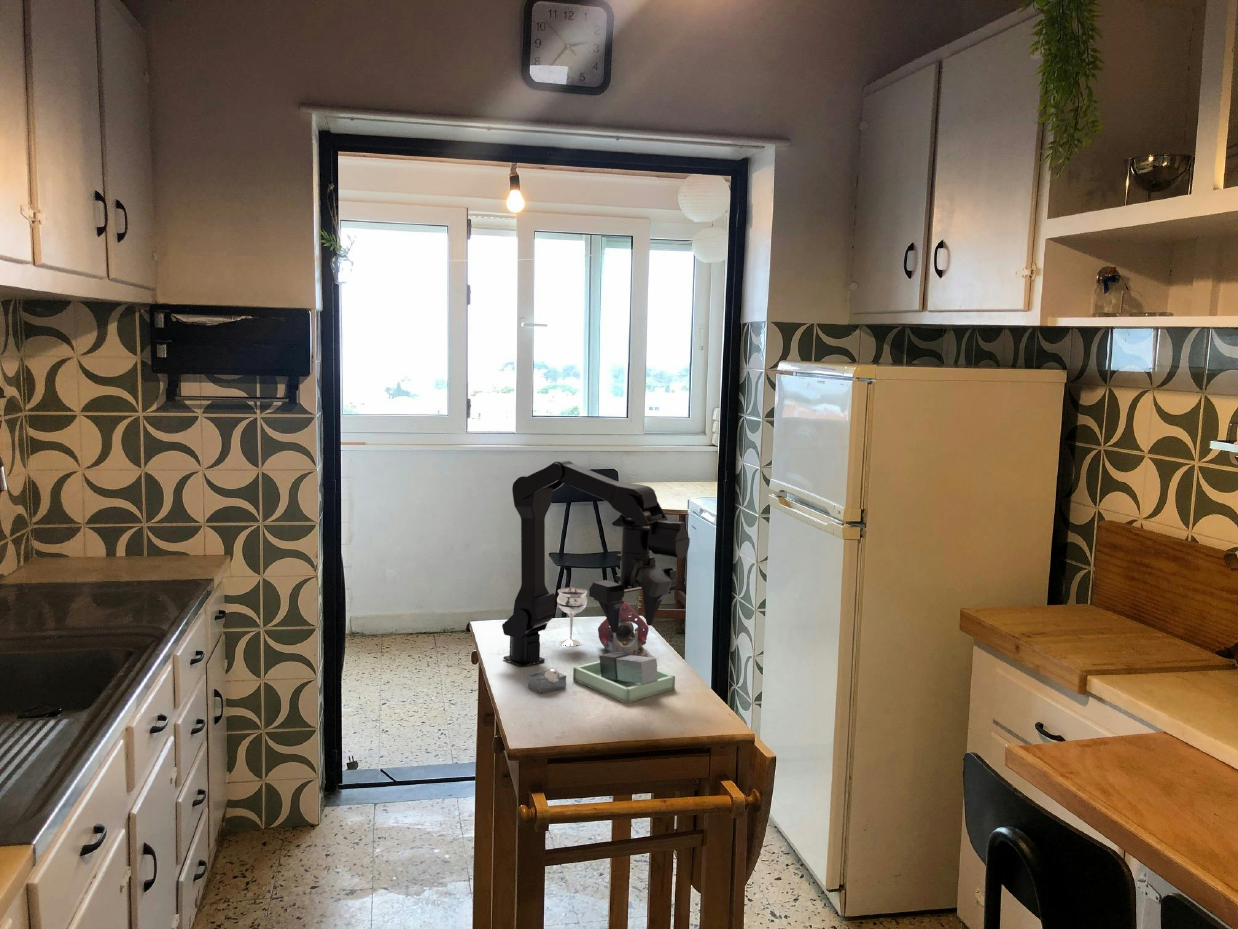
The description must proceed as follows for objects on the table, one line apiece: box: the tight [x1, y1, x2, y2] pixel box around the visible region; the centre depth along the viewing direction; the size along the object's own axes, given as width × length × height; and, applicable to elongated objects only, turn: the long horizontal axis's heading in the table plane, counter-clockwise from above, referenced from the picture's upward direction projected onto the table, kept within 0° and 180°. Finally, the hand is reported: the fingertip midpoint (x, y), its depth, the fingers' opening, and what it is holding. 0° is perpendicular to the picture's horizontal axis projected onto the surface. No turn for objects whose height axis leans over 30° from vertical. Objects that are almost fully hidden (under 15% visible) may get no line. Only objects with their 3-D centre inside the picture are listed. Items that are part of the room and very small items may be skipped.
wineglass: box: [556, 587, 588, 647], centre depth 214 cm, size 7×7×12 cm
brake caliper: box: [597, 602, 650, 656], centre depth 212 cm, size 11×11×12 cm
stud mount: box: [527, 668, 567, 695], centre depth 185 cm, size 5×6×4 cm
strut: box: [599, 651, 658, 684], centre depth 188 cm, size 12×4×4 cm, turn 42°
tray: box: [572, 660, 676, 704], centre depth 189 cm, size 16×13×3 cm
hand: (632, 629), depth 187 cm, fingers open, 9 cm apart
